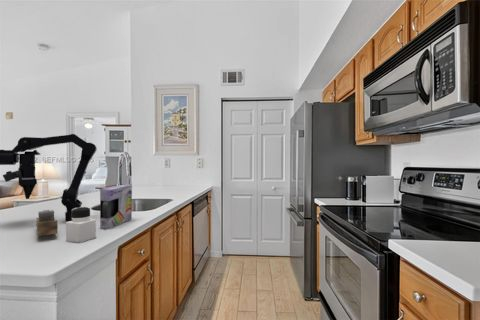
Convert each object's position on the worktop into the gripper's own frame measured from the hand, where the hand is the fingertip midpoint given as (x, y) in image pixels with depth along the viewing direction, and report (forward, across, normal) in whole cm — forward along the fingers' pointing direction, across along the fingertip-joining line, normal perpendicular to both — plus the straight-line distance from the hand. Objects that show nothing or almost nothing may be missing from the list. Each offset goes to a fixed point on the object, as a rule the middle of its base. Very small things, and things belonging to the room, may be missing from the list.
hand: (27, 198), depth 125 cm
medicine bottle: (+12, +41, +15) cm, 45 cm away
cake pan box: (+12, +24, +32) cm, 42 cm away
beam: (+12, +22, +6) cm, 26 cm away
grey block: (+8, +24, +5) cm, 25 cm away
